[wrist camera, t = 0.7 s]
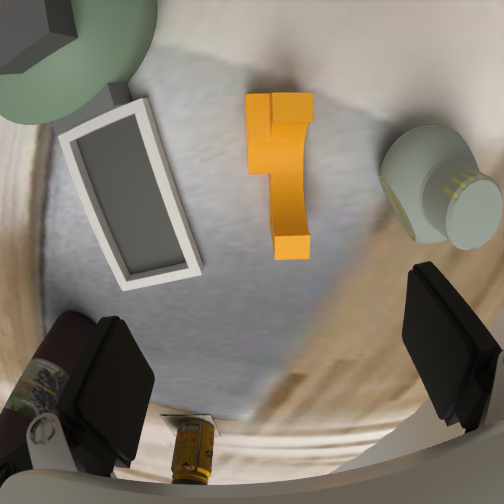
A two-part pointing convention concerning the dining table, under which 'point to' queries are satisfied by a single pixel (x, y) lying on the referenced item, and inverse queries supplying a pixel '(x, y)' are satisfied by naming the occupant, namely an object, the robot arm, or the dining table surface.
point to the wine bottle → (44, 379)
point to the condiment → (192, 448)
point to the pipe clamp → (281, 164)
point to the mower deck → (100, 126)
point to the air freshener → (440, 188)
